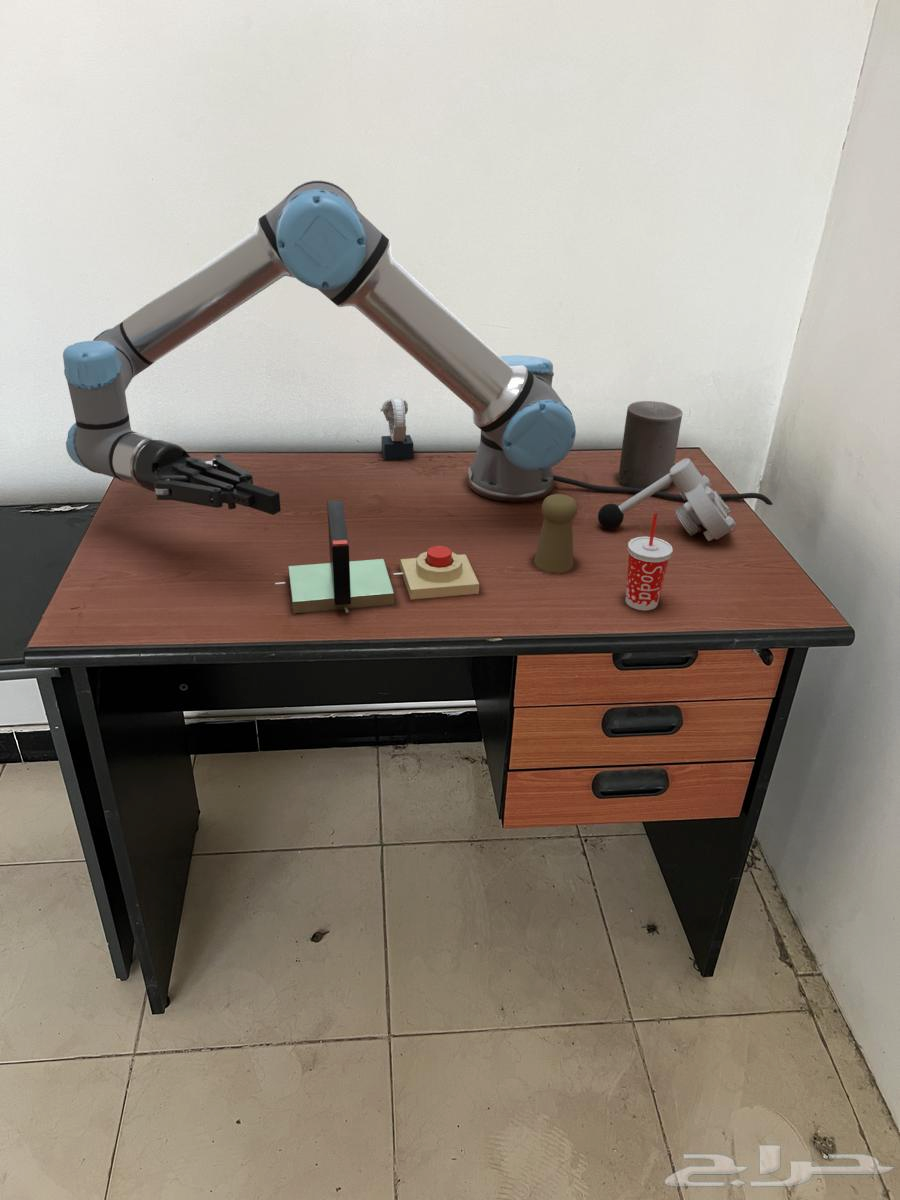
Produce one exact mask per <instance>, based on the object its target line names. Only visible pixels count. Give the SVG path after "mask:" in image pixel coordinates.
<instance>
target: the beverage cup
mask: <svg viewBox="0 0 900 1200" xmlns="http://www.w3.org/2000/svg"><path fill="white" fill-rule="evenodd" d="M652 516H653V517H652V522H651V529H650V534H649V535H650V536H637V537H634V538H631V539H630V540H629V541H628V542H627V553H628V562H627V574H626V585H625V600H624V601H625V604H626V605H627V606H628V607H630V608H632V609H635V610H638V611H652V610H654V609H656V608H657V607H658V606H659V601H660V598H661V597H660V596H661V593H662V589H663V585H664V580H665V576H666V573H667V569H668V565H669V560H670V559H671V557H672V554H673V552H674V550H673V546H672V545H671V544H670V543H669V542H668V541H666V540H664V539H661V538H659V537H655V531H656V525H657V519H658V513H657V512H654V513H653V515H652Z"/></svg>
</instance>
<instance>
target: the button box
mask: <svg viewBox="0 0 900 1200" xmlns="http://www.w3.org/2000/svg"><path fill="white" fill-rule="evenodd" d="M399 561H400V563H399V564H400V568H399V569H400V573H403V575H402V578H403V581H404V584H405V586H406V590H407V593H408V596H409V599H410V600H421V599H433V598H443V597H446V598H447V597H456V596H466V595H478V594H480V582H479V580H478V578H477V576H476V574H475V572H474V569H473V567H472V565H471V562H470V561H469V559H468V557H467V554H466V553H463V554H456V553H455V552H453V551H452V563H451V565H450V566H448V567H442V568H437V567H431V566H429V565H428V564H427V551H424V552H421V553H419V555H418V556H417V557H412V558H400V560H399Z"/></svg>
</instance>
